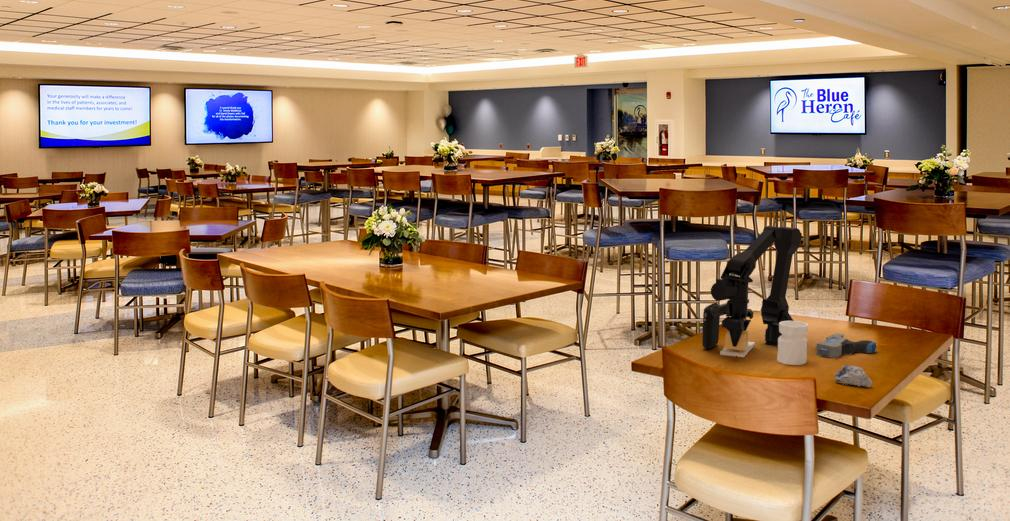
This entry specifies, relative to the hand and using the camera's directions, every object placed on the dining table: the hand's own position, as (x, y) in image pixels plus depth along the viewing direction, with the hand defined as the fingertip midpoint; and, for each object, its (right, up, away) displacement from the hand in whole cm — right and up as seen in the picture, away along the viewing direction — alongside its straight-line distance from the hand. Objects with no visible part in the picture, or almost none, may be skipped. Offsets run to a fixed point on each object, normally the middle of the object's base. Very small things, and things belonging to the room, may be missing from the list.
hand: (736, 344), depth 276 cm
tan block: (0, -1, 0) cm, 1 cm away
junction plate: (+2, -2, +5) cm, 5 cm away
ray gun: (+35, -4, 0) cm, 36 cm away
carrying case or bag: (-7, -2, +7) cm, 10 cm away
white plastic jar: (+15, -5, -9) cm, 18 cm away
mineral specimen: (+24, -9, -32) cm, 41 cm away
